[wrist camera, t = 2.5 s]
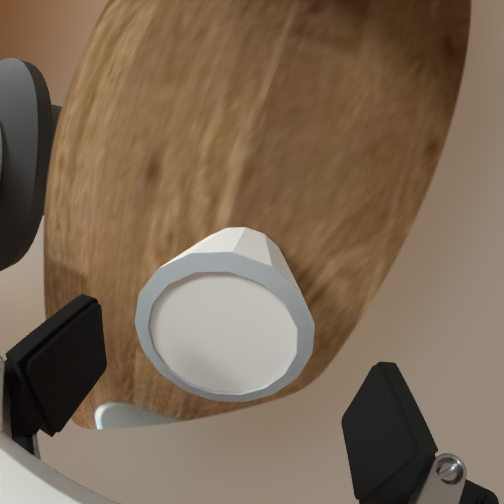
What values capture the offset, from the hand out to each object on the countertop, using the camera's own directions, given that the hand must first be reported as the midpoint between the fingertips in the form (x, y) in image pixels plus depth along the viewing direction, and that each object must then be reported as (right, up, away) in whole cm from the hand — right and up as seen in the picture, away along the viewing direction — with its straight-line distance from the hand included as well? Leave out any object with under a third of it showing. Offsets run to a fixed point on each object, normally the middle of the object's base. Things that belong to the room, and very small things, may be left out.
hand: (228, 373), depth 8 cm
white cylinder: (0, +3, +8) cm, 9 cm away
